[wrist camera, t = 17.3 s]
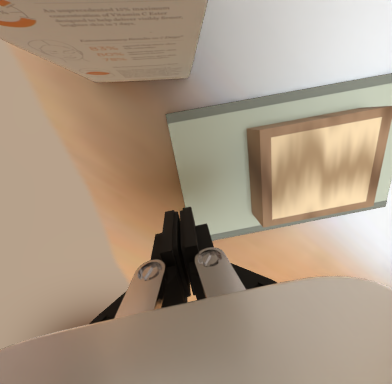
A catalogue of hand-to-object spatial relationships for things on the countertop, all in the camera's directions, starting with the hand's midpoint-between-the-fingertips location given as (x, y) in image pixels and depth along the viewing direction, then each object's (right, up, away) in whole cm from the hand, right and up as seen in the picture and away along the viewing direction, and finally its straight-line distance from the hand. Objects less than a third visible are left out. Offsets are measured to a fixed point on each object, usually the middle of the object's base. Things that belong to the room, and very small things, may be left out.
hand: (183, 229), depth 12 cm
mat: (+11, +5, +8) cm, 14 cm away
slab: (+6, +4, +6) cm, 9 cm away
